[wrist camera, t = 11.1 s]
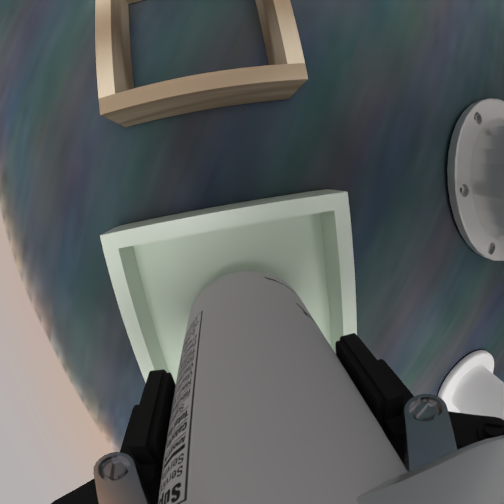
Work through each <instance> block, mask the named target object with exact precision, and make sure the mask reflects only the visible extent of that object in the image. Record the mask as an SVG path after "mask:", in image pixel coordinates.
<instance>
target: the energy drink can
mask: <svg viewBox="0 0 504 504" xmlns="http://www.w3.org/2000/svg"><path fill="white" fill-rule="evenodd" d="M407 472H408V471H407V469H406V467H405V466H404V464H403V462H402V461H401V459H400V458H399V456H398V454H397V453H396V451H395V449H394V448H393V446H392V444H391V443H390V441H389V439H388V438H387V436H386V435H385V433H384V431H383V430H382V428H381V426H380V425H379V423H378V421H377V420H376V418H375V417H374V415H373V413H372V412H371V410H370V409H369V407H368V405H367V404H366V402H365V400H364V399H363V397H362V396H361V394H360V392H359V391H358V389H357V388H356V386H355V384H354V383H353V381H352V380H351V378H350V376H349V375H348V373H347V372H346V370H345V368H344V367H343V365H342V364H341V362H340V360H339V359H338V357H337V356H336V354H335V352H334V351H333V349H332V348H331V346H330V344H329V343H328V341H327V340H326V338H325V337H324V335H323V333H322V332H321V330H320V329H319V327H318V326H317V324H316V322H315V321H314V319H313V318H312V316H311V315H310V313H309V311H308V310H307V308H306V307H305V305H304V304H303V302H302V300H301V299H300V297H299V296H298V295H297V293H296V292H295V291H294V290H293V288H292V287H291V286H289V285H288V284H287V283H286V282H284V281H283V280H281V279H279V278H278V277H276V276H274V275H271V274H267V273H264V272H259V271H240V272H234V273H231V274H227V275H224V276H222V277H220V278H218V279H216V280H215V281H213V282H212V283H210V284H209V285H208V286H207V287H205V288H204V289H203V290H202V292H201V293H200V294H199V295H198V296H197V298H196V299H195V301H194V303H193V305H192V307H191V310H190V314H189V318H188V323H187V328H186V333H185V338H184V343H183V348H182V353H181V359H180V364H179V369H178V375H177V380H176V386H175V392H174V398H173V403H172V409H171V415H170V422H169V428H168V434H167V441H166V447H165V454H164V461H163V468H162V475H161V483H160V490H159V498H158V504H358V503H357V500H356V498H357V497H359V496H360V495H362V494H364V493H366V492H367V491H369V490H371V489H373V488H375V487H377V486H379V485H380V484H382V483H383V482H385V481H387V480H389V479H392V478H395V477H397V476H400V475H402V474H404V473H407Z"/></svg>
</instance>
